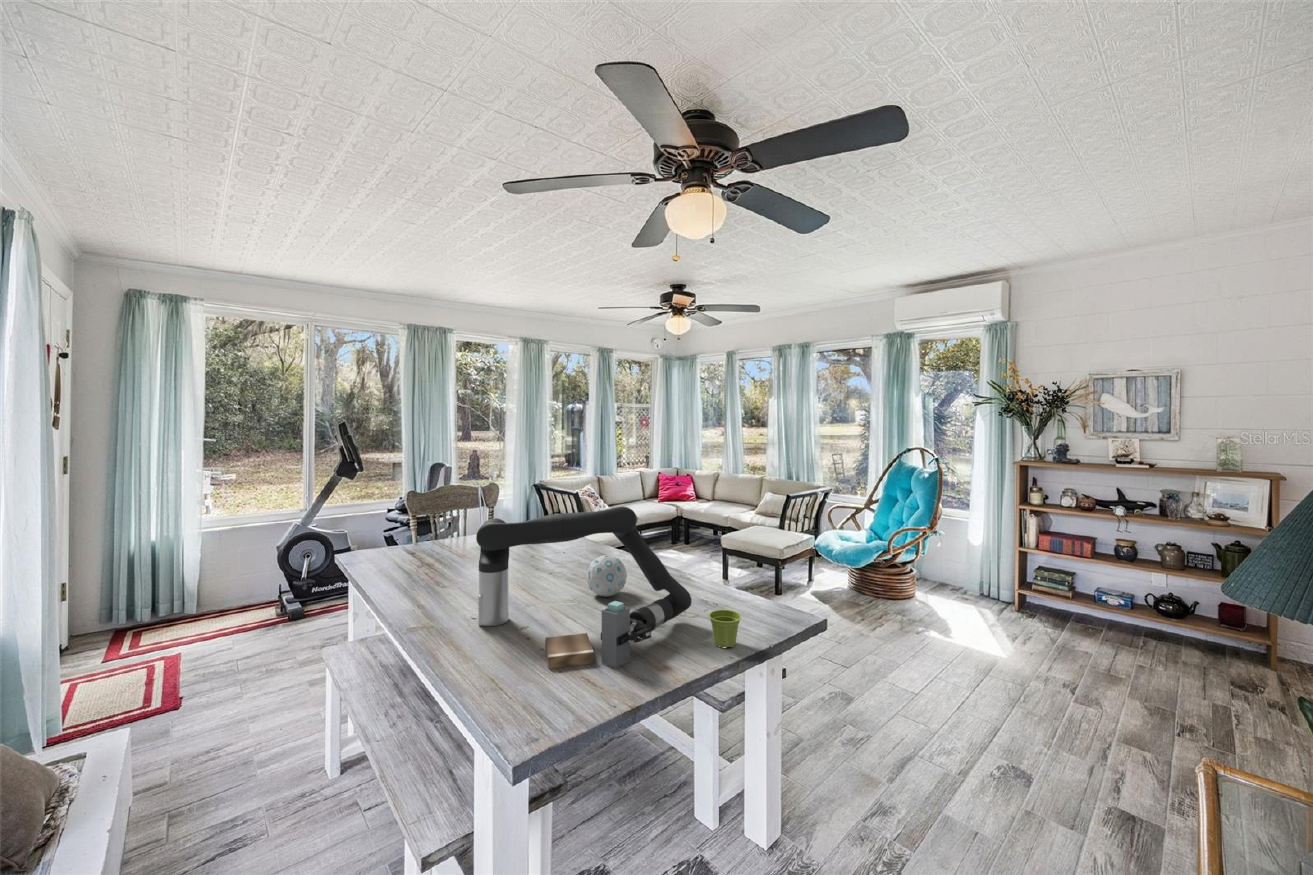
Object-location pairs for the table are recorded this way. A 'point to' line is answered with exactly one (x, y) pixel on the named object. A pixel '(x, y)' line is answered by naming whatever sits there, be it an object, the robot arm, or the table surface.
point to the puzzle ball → (606, 575)
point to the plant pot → (724, 627)
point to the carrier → (615, 637)
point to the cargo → (615, 607)
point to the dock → (568, 650)
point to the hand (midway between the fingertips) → (609, 639)
